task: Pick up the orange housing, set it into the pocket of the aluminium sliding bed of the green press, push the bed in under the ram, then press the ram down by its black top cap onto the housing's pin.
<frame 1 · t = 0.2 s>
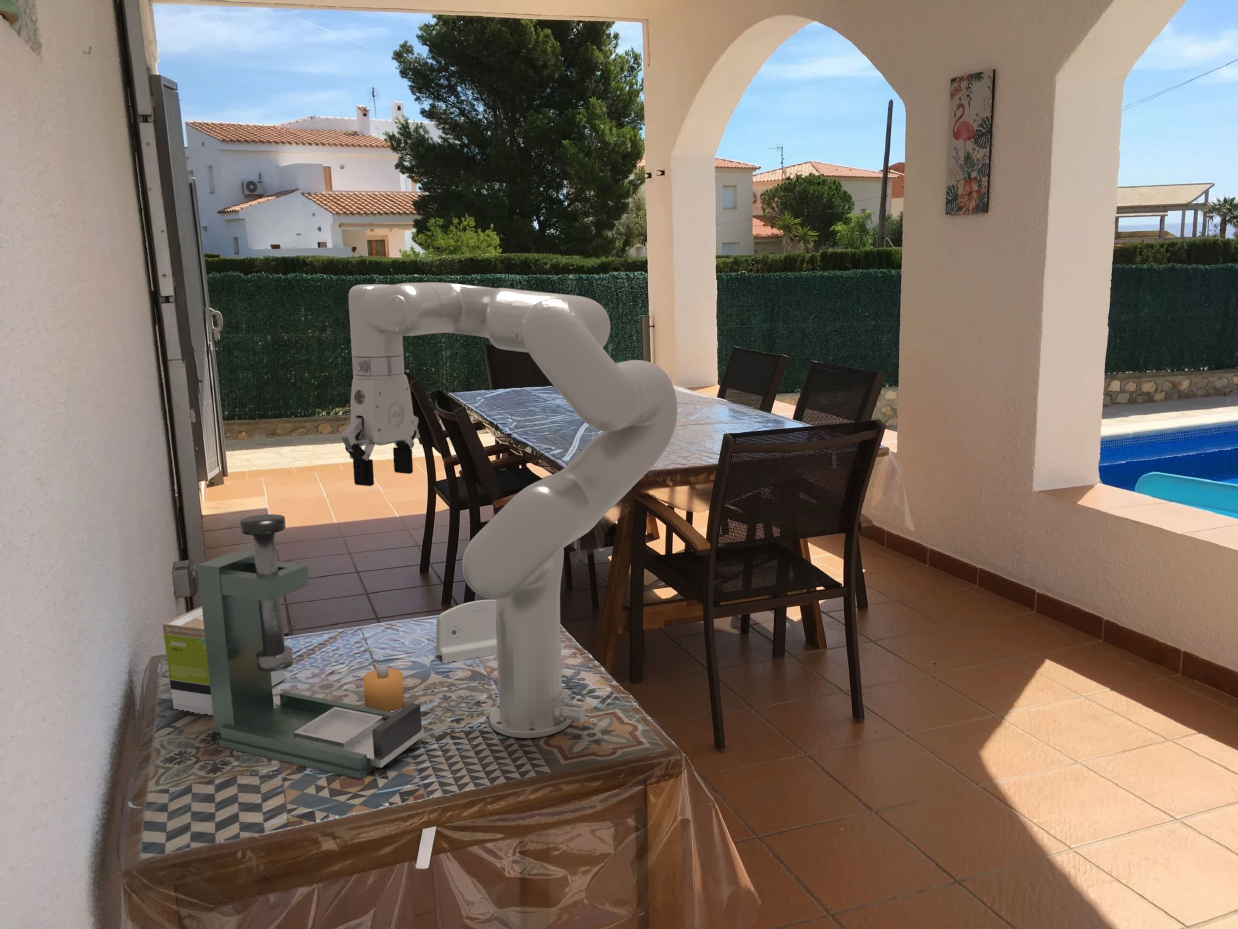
hand: (384, 478, 147), 36 cm above the table, tool pointing down, fingers open, 9 cm apart
hinge: (482, 650, 173), on the table
tea box: (230, 696, 155), on the table
housing: (384, 706, 150), on the table
press: (297, 734, 141), on the table
ram: (269, 593, 138), point 22 cm above the table, slide at 0.0 cm
sliding bed: (357, 725, 136), point 4 cm above the table, slide at 0.0 cm
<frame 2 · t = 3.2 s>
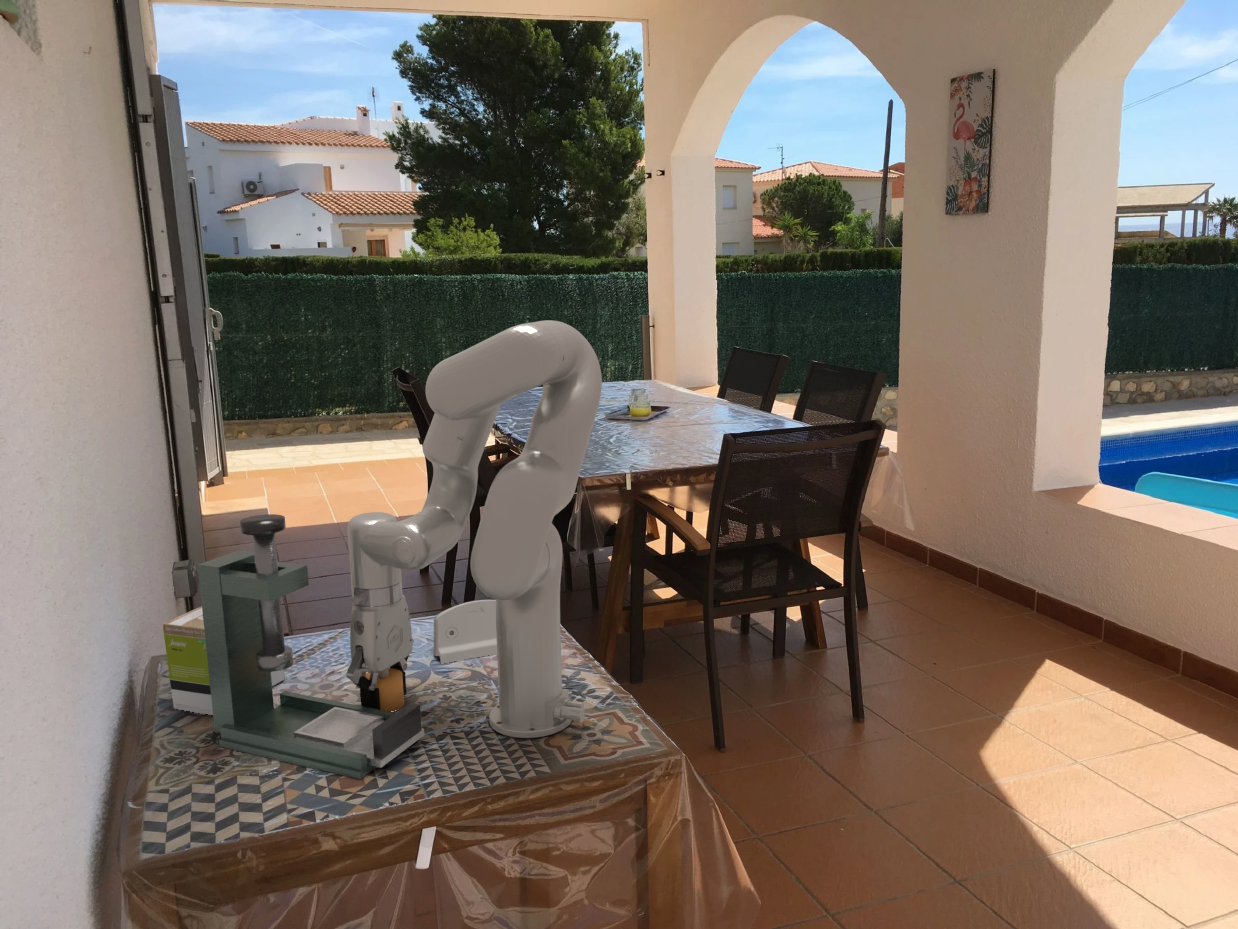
hand: (384, 701, 150), 1 cm above the table, tool pointing down, fingers closed on housing, 6 cm apart
housing: (384, 705, 150), on the table, touching gripper
when the fingers open (4 cm above the table, at t = 8.8 s): housing drops 1 cm, resting on sliding bed.
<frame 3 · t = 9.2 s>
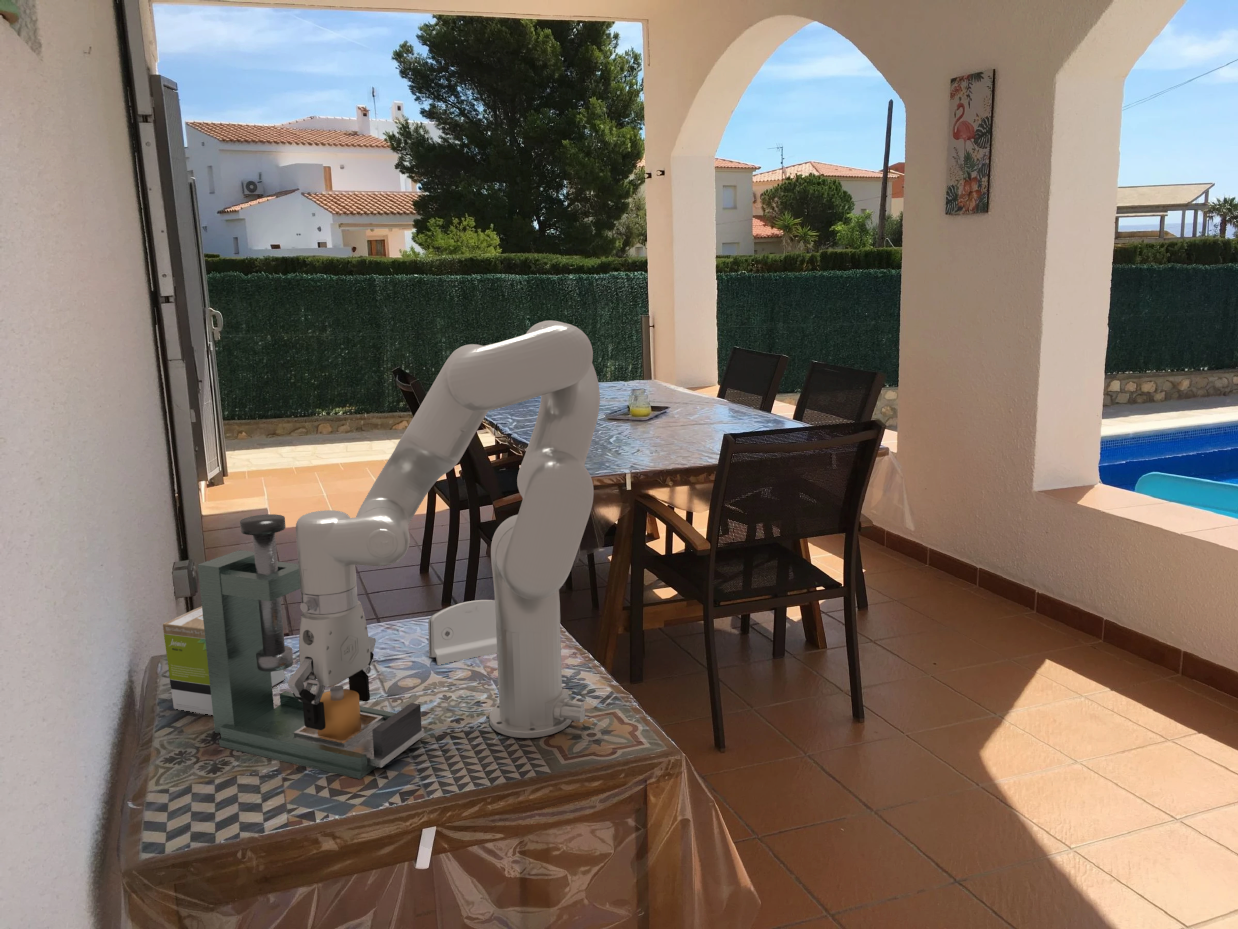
hand: (338, 713, 137), 5 cm above the table, tool pointing down, fingers open, 9 cm apart
housing: (339, 730, 137), point 2 cm above the table, touching sliding bed
sliding bed: (357, 725, 136), point 4 cm above the table, slide at 0.0 cm, touching housing
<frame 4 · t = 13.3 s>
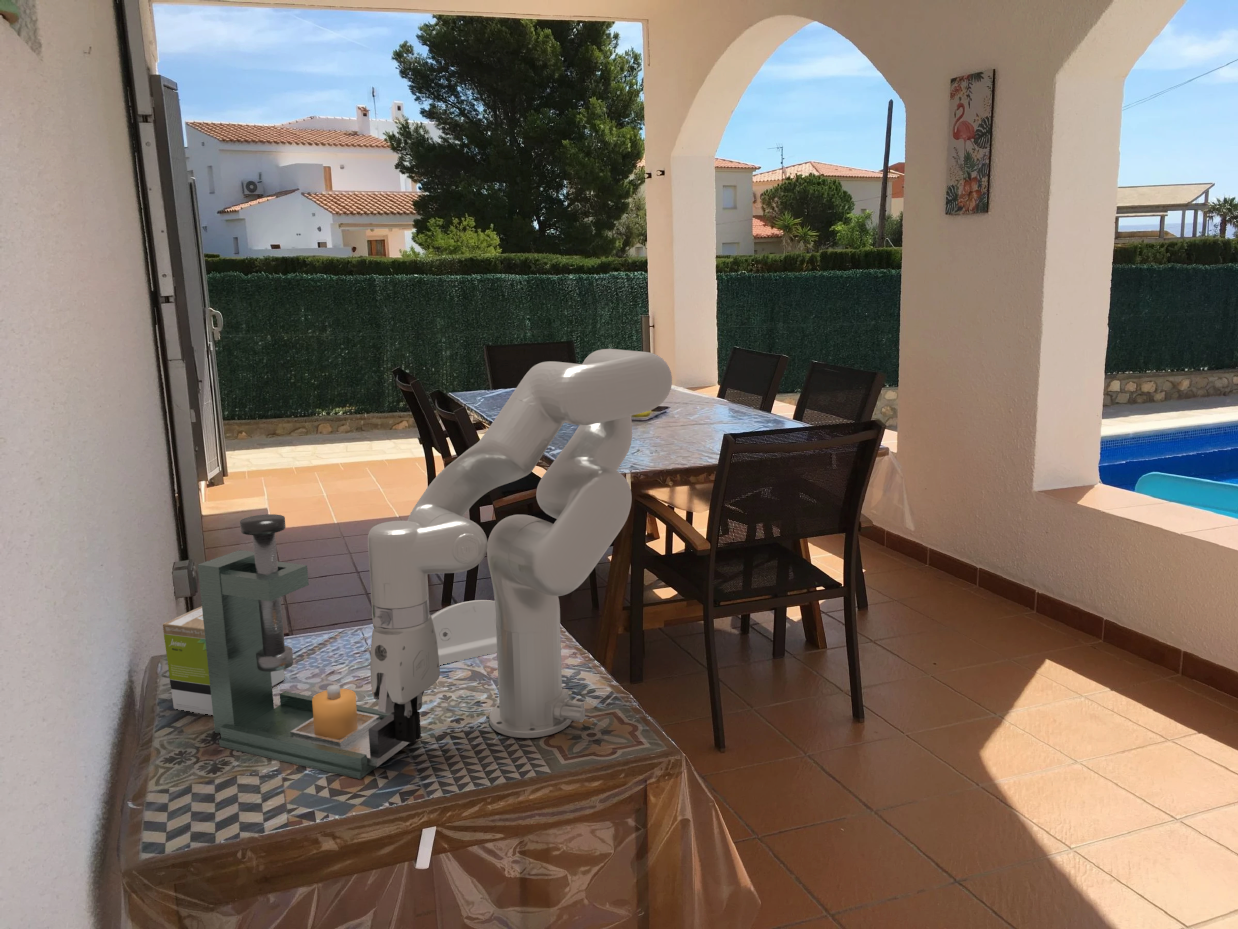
hand: (408, 738, 132), 3 cm above the table, tool pointing down, fingers closed
sliding bed: (354, 724, 136), point 4 cm above the table, slide at 0.6 cm, touching housing
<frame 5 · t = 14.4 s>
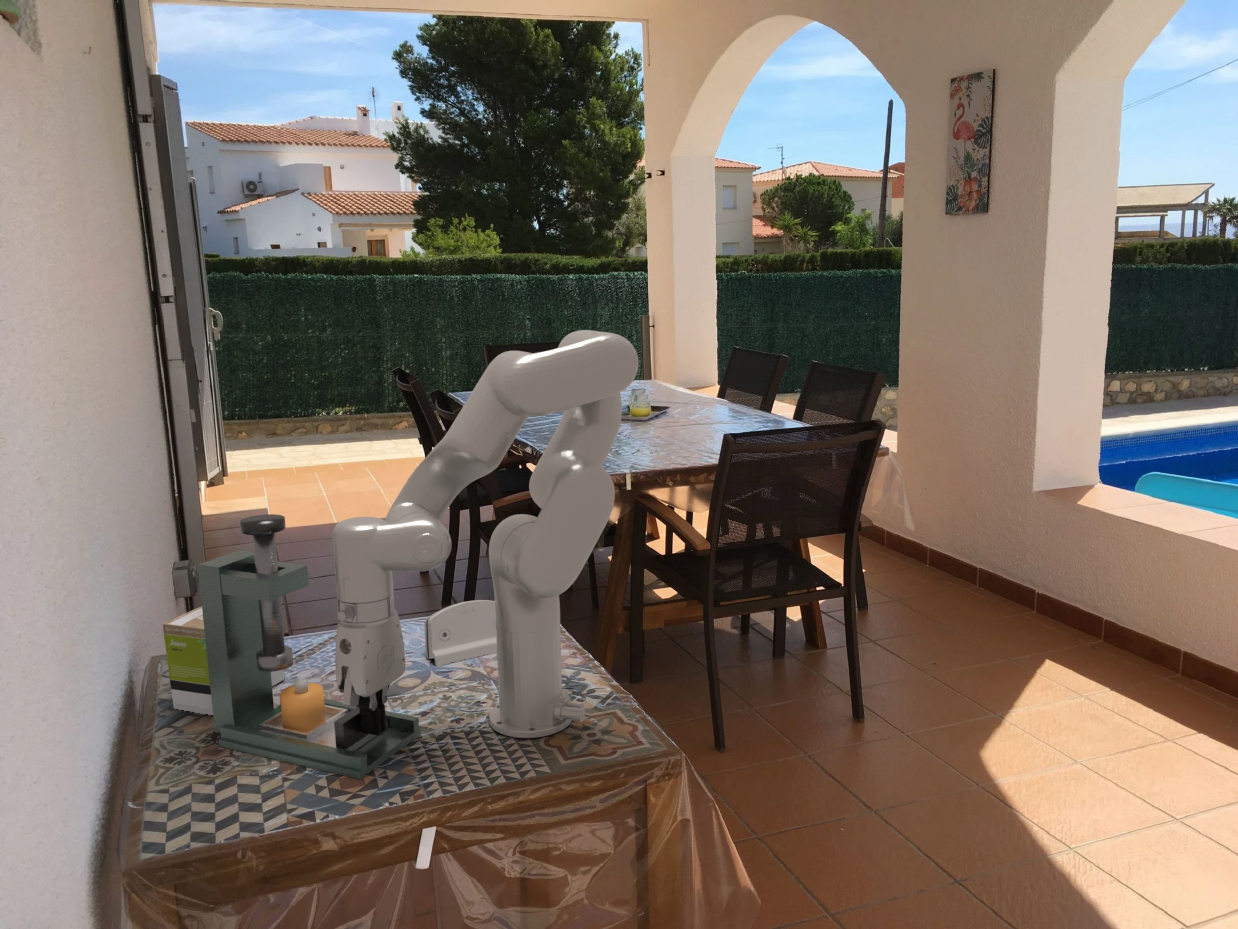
hand: (373, 731, 134), 3 cm above the table, tool pointing down, fingers closed
housing: (304, 723, 140), point 2 cm above the table, touching sliding bed
sliding bed: (321, 717, 138), point 4 cm above the table, slide at 6.4 cm, touching gripper, housing
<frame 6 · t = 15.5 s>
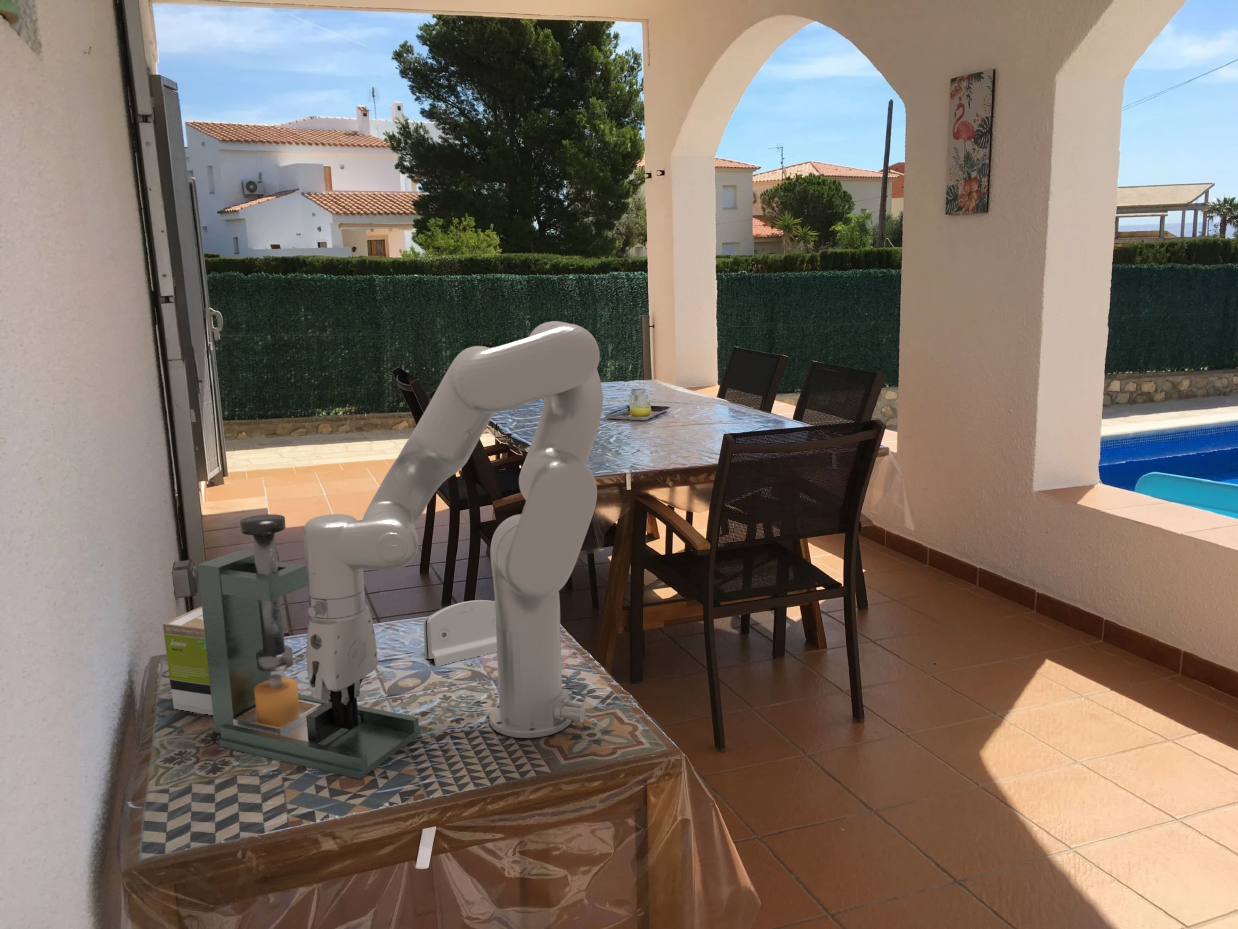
hand: (346, 725, 136), 3 cm above the table, tool pointing down, fingers closed
housing: (278, 717, 142), point 2 cm above the table, touching sliding bed
sliding bed: (295, 712, 140), point 4 cm above the table, slide at 11.3 cm, touching gripper, housing
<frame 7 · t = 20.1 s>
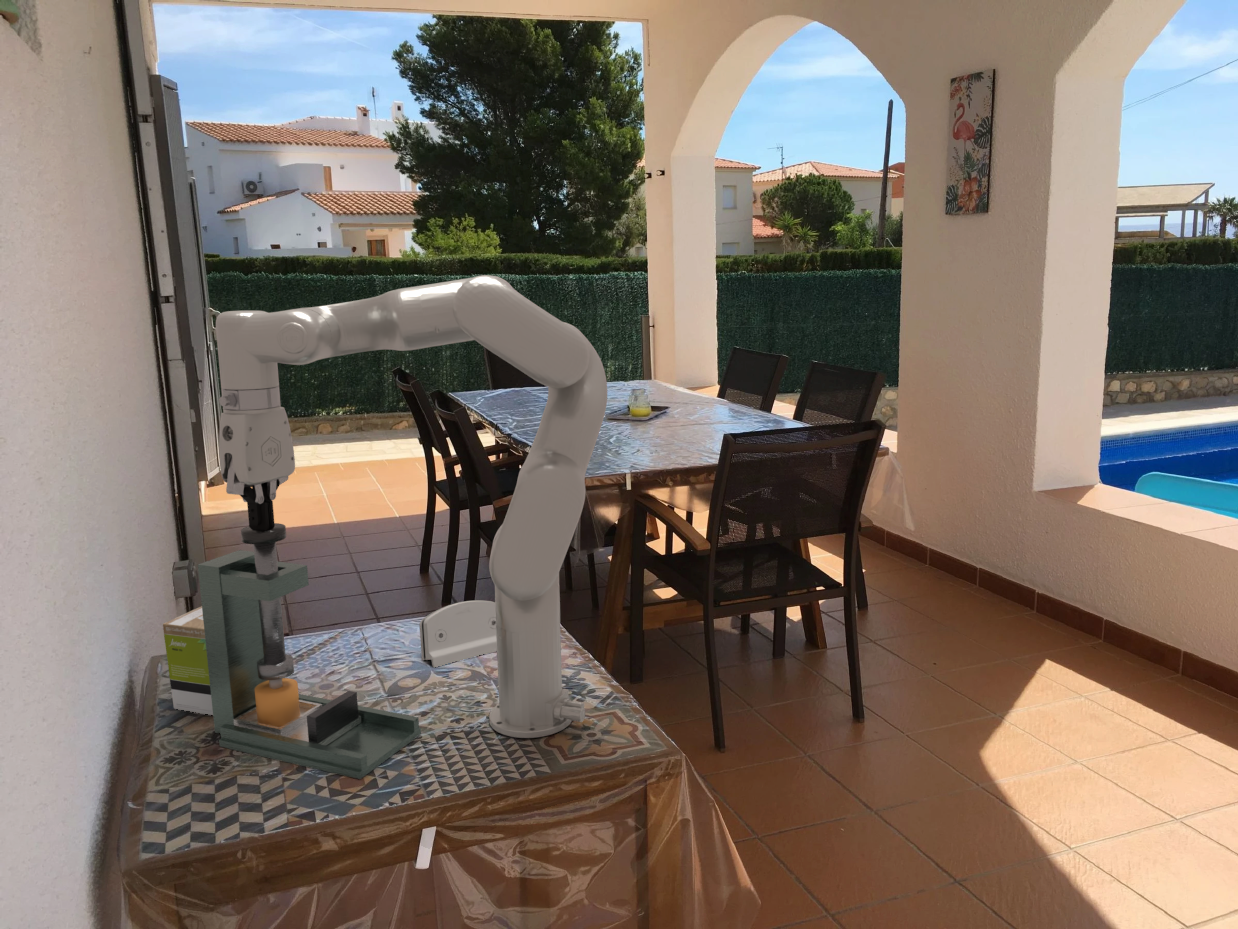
hand: (262, 528, 136), 31 cm above the table, tool pointing down, fingers closed
ram: (269, 602, 138), point 20 cm above the table, slide at 1.3 cm, touching gripper
sliding bed: (295, 712, 140), point 4 cm above the table, slide at 11.2 cm, touching housing
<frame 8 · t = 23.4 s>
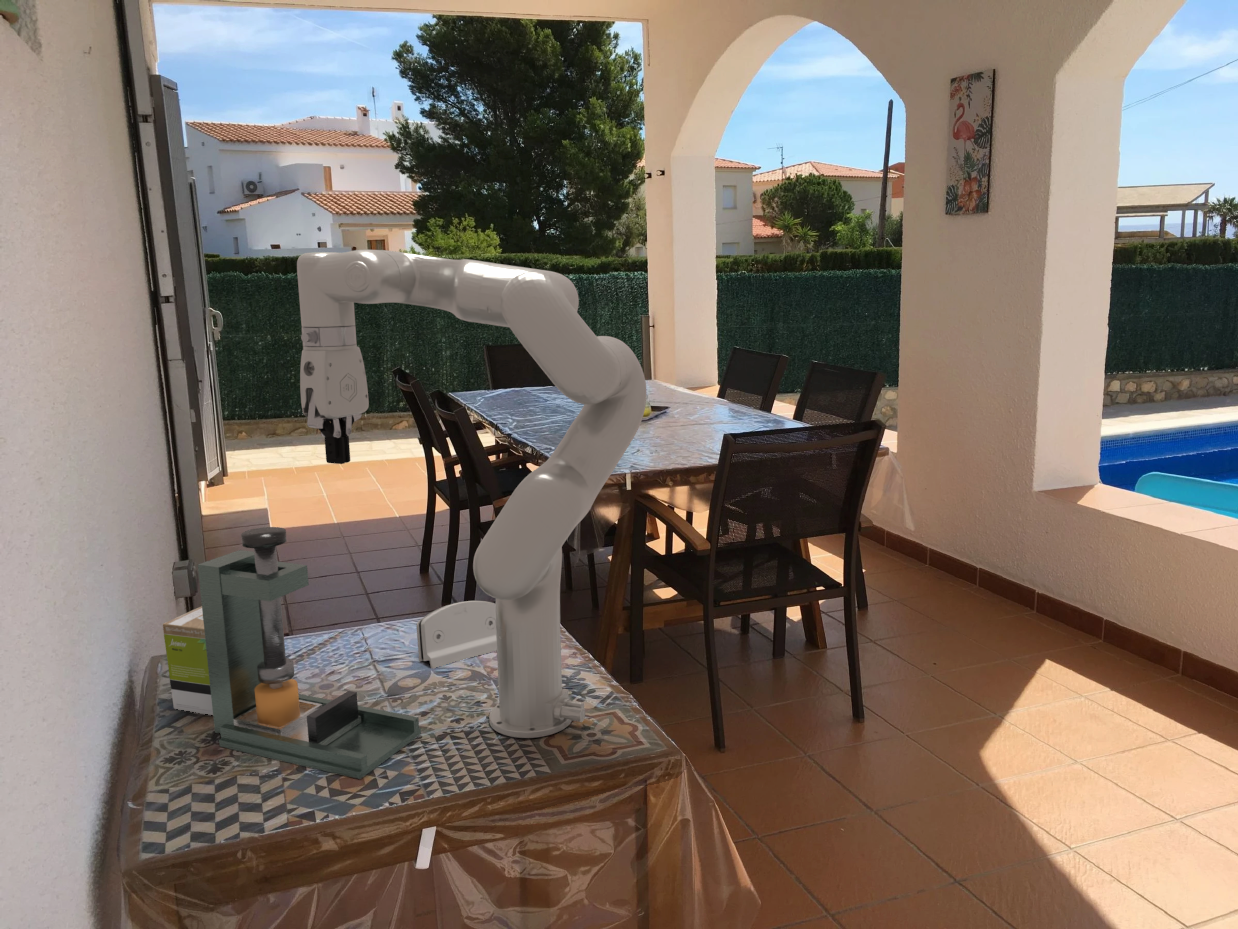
hand: (338, 462, 142), 39 cm above the table, tool pointing down, fingers closed
housing: (278, 718, 141), point 2 cm above the table, touching ram, sliding bed
ram: (270, 605, 138), point 20 cm above the table, slide at 1.9 cm, touching housing
at the end: housing 0.2 cm from the target spot, point 2.1 cm above the table; ram slide at 1.9 cm; housing tilted 0° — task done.
